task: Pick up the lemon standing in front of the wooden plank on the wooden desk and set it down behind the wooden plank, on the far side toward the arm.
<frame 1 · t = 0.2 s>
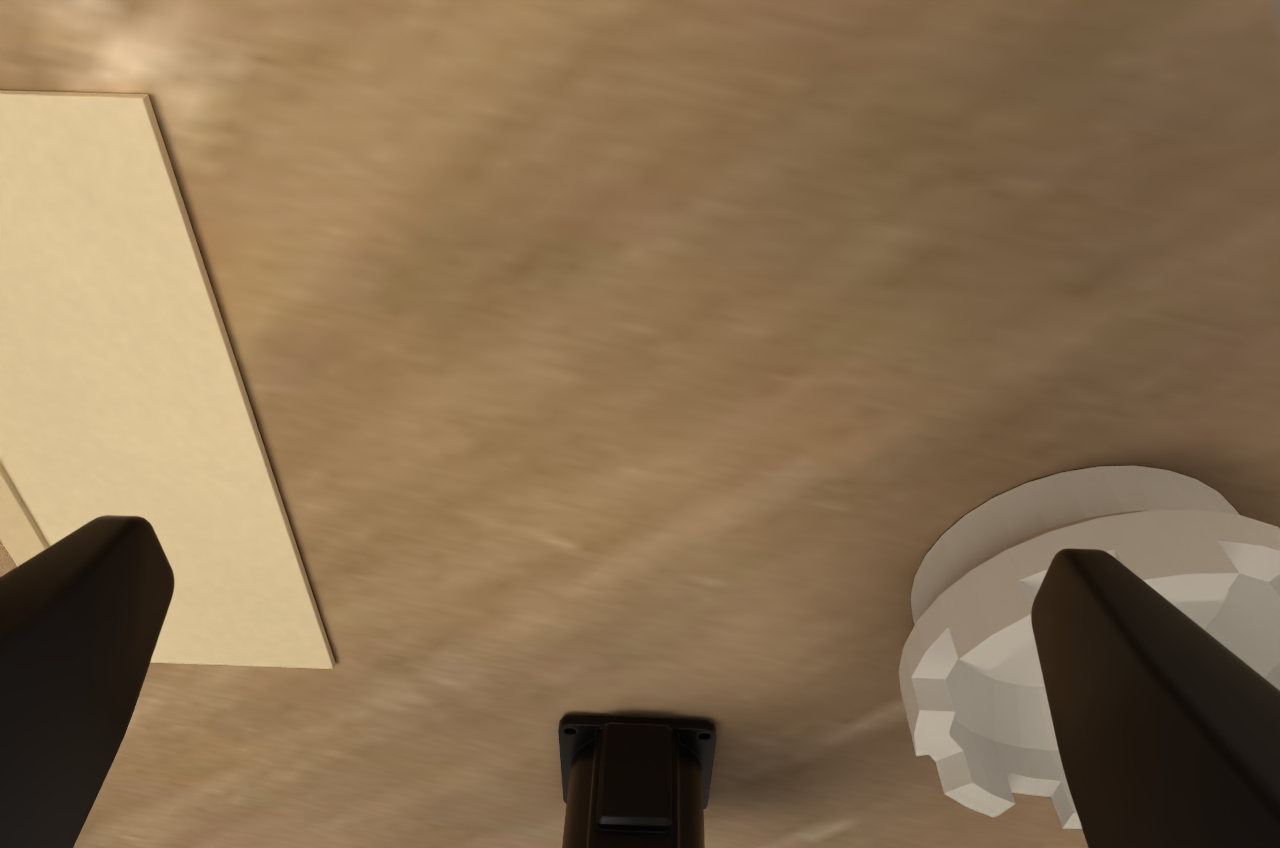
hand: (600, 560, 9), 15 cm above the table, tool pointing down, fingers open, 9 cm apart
flag stand: (1069, 580, 30), on the table
wooden plank: (109, 444, 27), on the table
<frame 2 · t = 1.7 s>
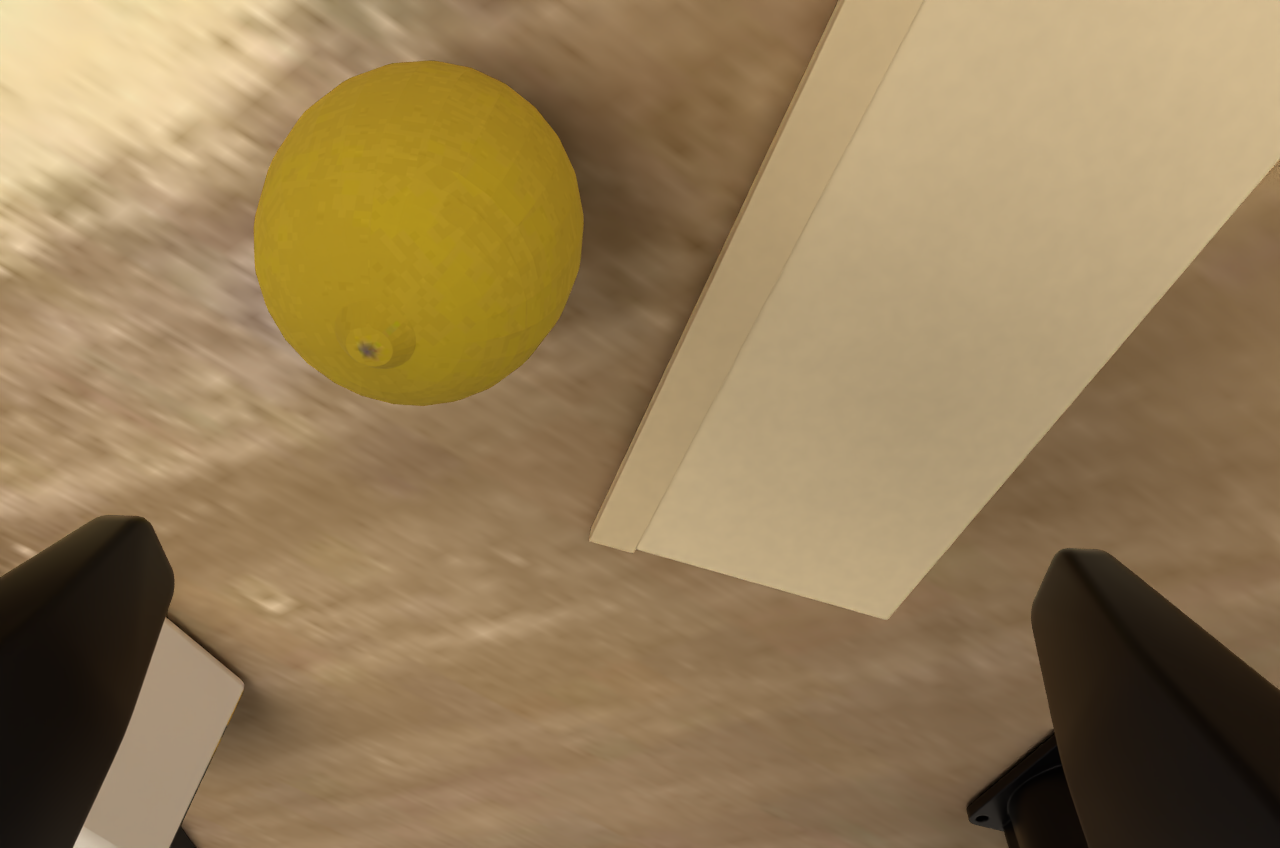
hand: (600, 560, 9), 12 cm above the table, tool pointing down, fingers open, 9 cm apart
lemon: (473, 148, 19), on the table
medicine bottle: (108, 644, 30), on the table
wooden plank: (936, 276, 20), on the table
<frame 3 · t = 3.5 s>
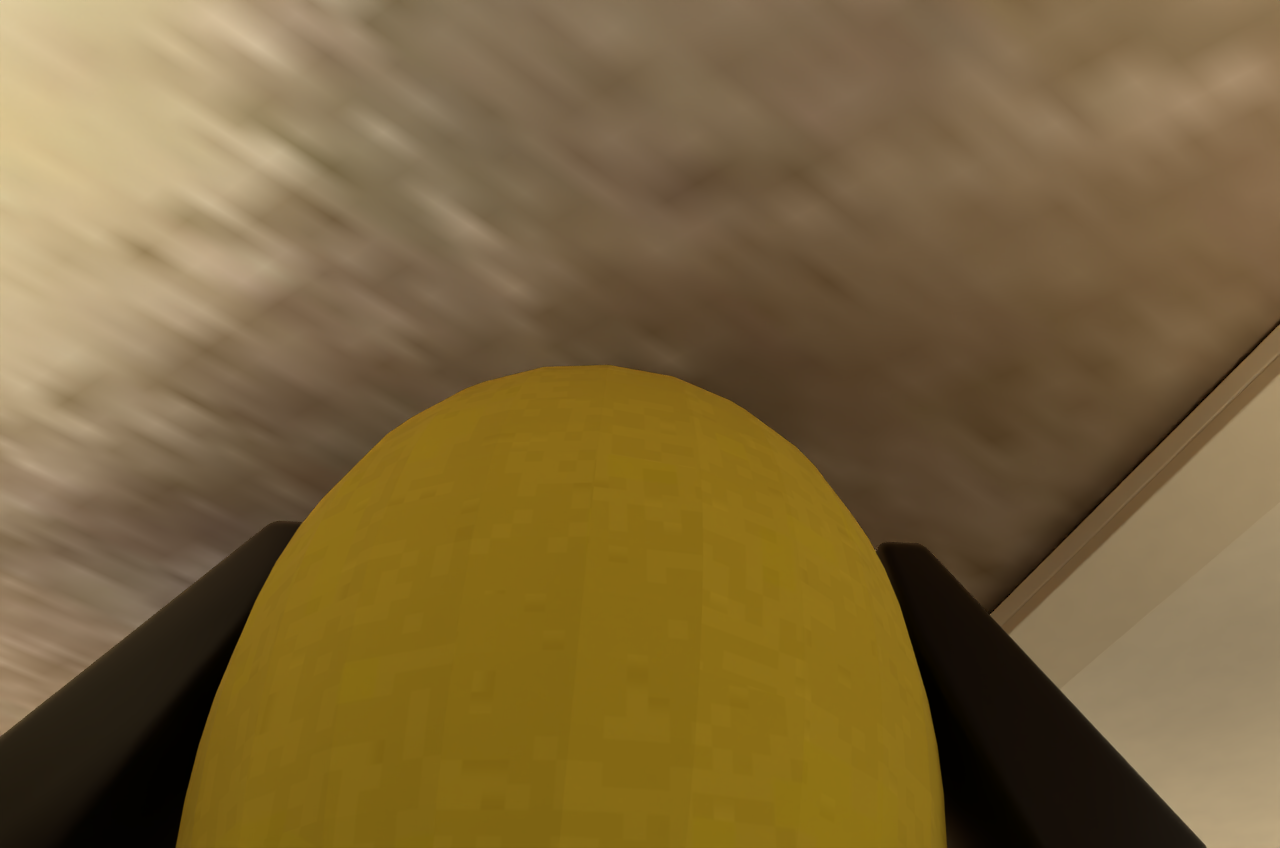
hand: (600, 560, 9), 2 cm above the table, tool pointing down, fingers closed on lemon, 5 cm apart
lemon: (610, 424, 10), on the table, touching gripper
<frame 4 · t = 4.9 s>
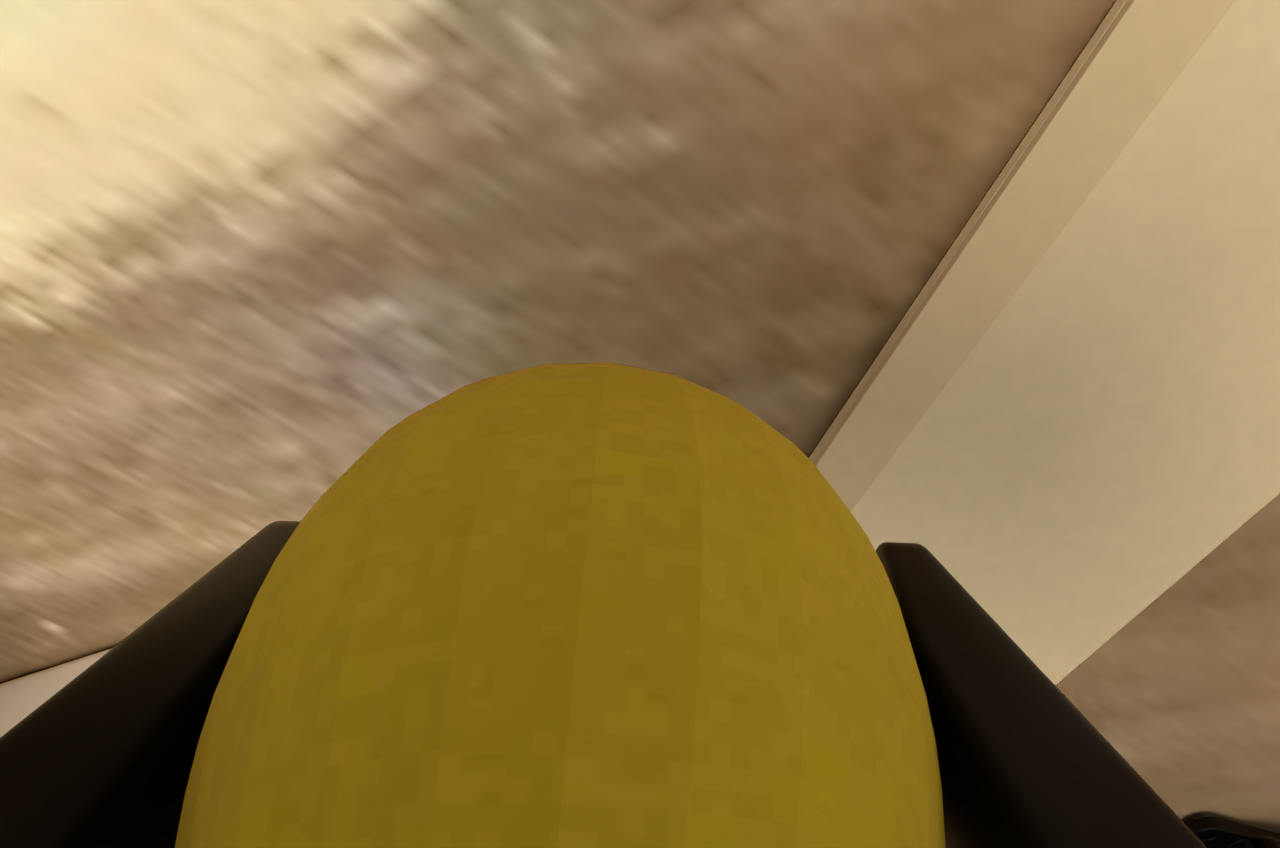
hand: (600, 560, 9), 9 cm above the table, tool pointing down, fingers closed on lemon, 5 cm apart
lemon: (609, 422, 10), point 7 cm above the table, touching gripper
medicine bottle: (141, 722, 27), on the table
wooden plank: (1155, 345, 17), on the table
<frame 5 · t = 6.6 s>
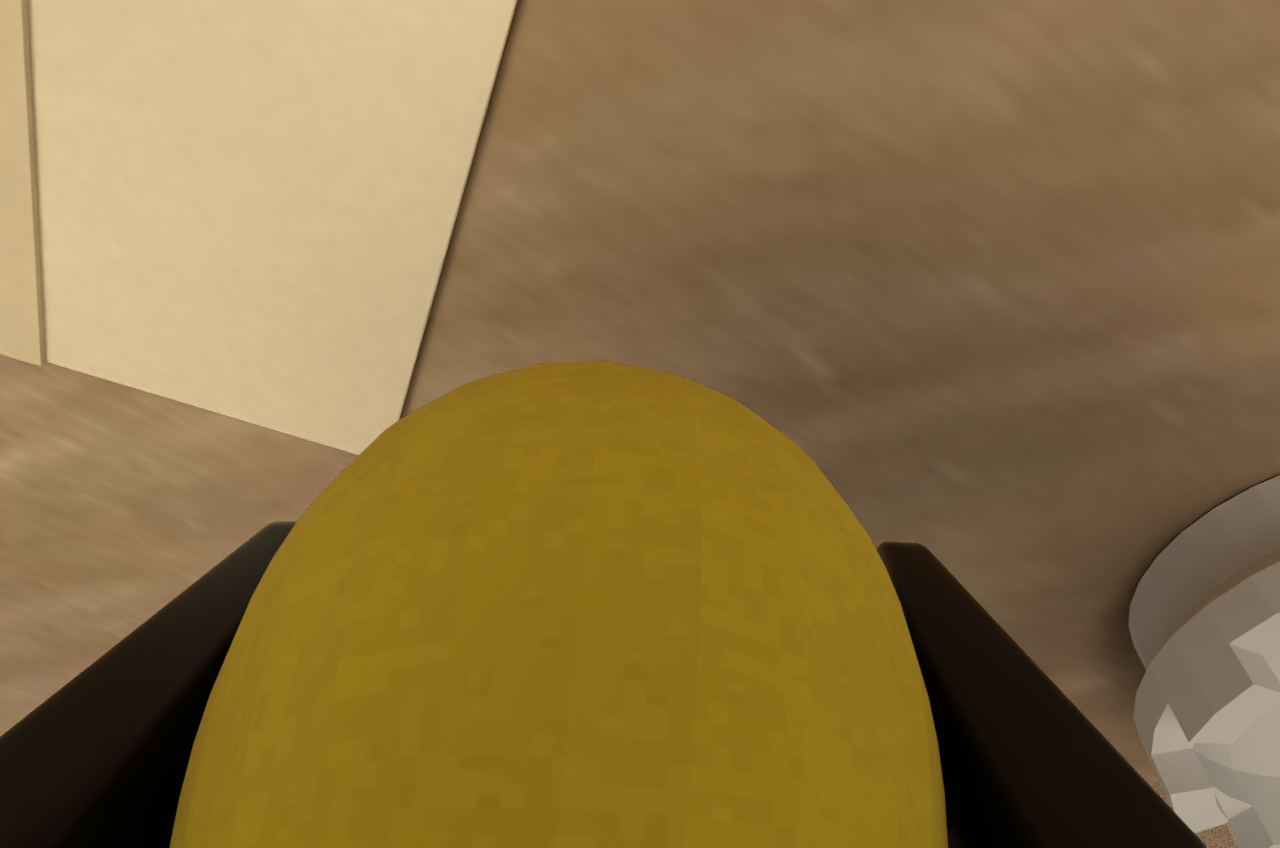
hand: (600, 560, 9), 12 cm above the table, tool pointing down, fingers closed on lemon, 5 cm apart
lemon: (609, 421, 10), point 10 cm above the table, touching gripper
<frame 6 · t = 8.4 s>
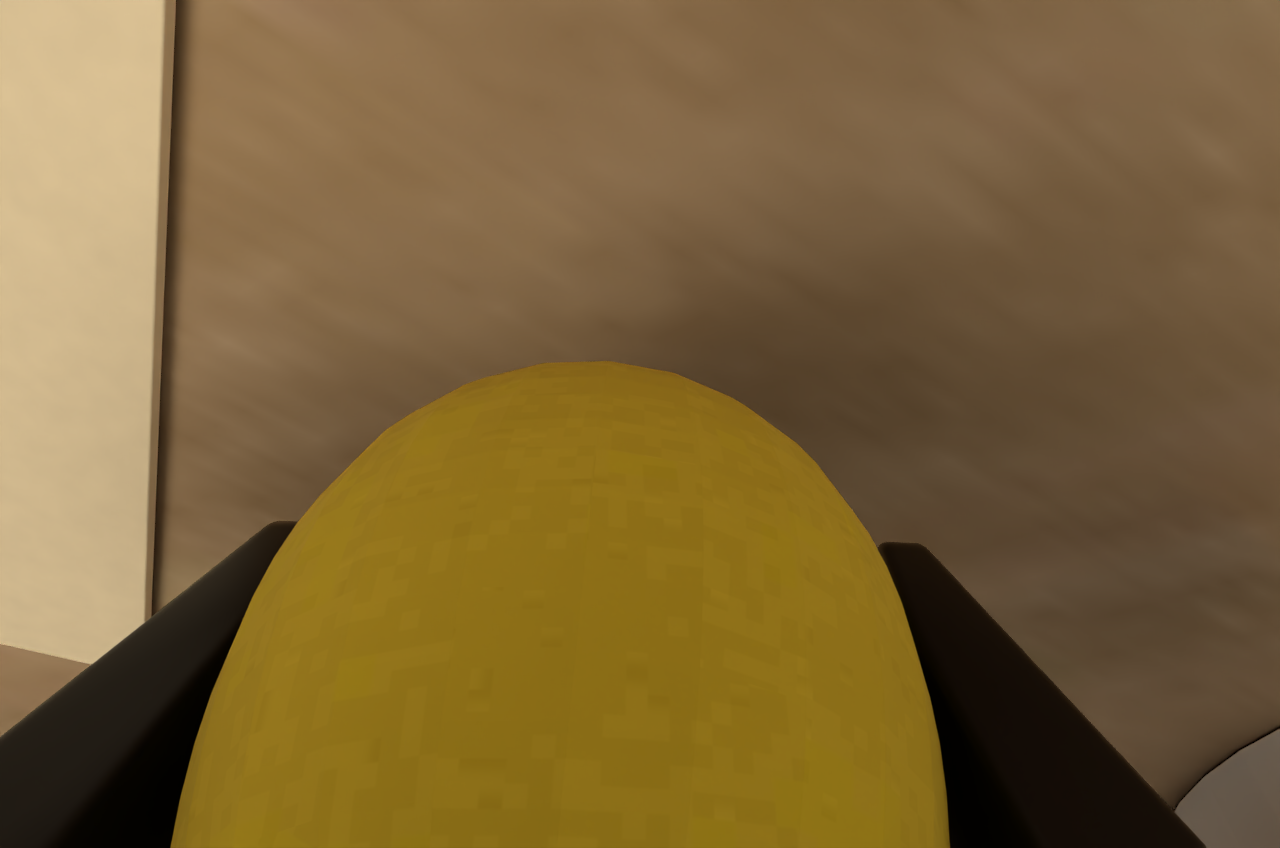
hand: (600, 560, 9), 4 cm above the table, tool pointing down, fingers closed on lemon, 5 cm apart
lemon: (610, 421, 10), point 2 cm above the table, touching gripper
when the fingers open (2 cm above the table, at t = 9.6 s): lemon stays where it is, on the table.
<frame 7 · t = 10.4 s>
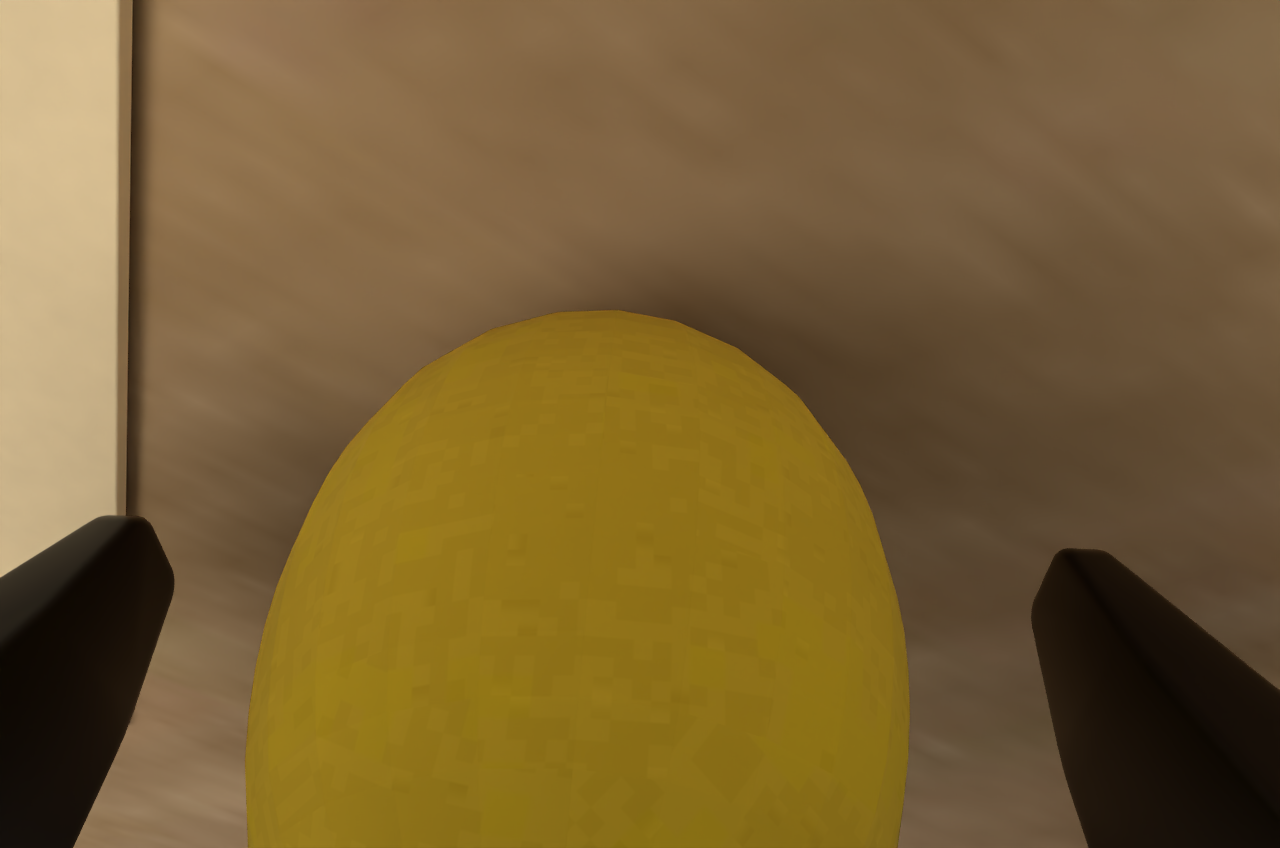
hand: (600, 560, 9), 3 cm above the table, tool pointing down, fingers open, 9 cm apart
lemon: (616, 378, 11), on the table
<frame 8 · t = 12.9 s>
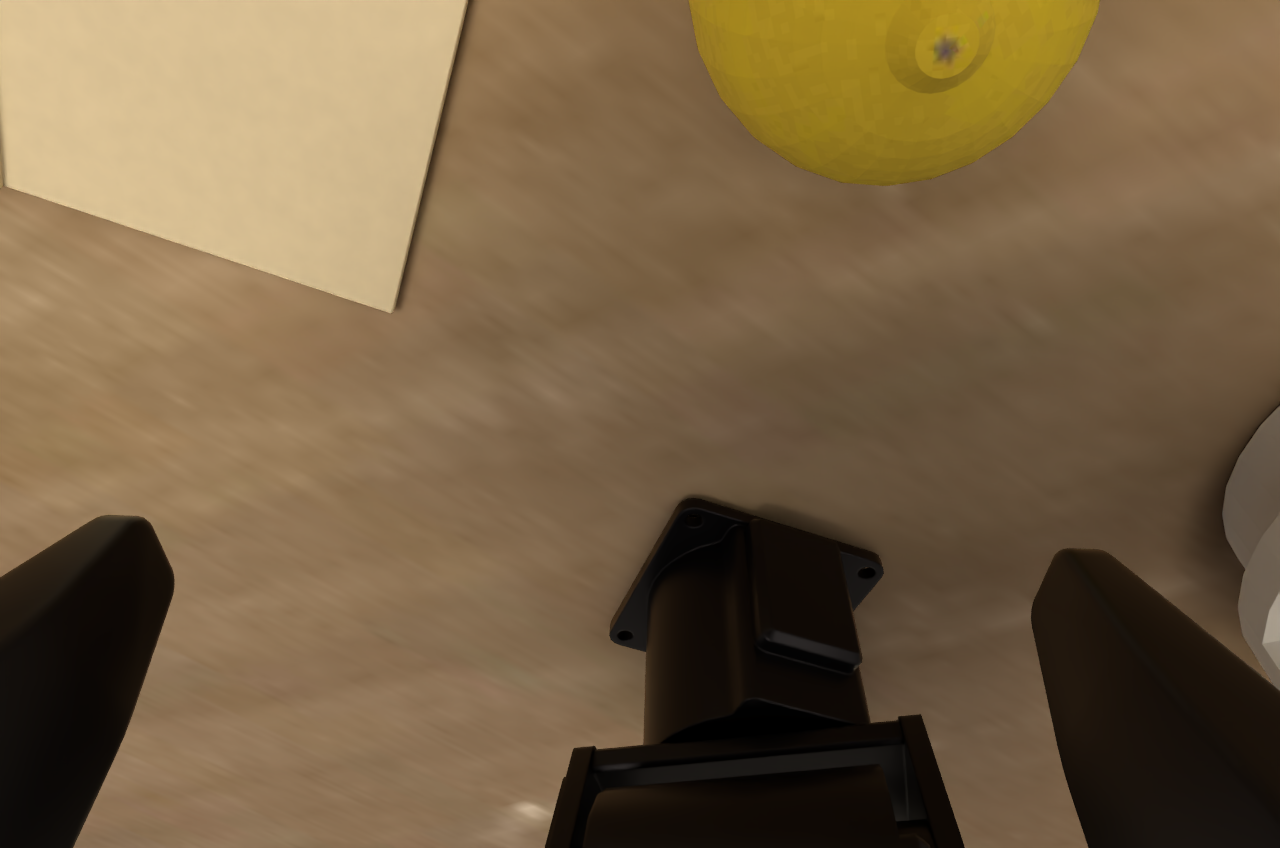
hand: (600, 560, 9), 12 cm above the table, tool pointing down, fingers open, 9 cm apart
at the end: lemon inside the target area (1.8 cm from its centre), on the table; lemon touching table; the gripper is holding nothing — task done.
